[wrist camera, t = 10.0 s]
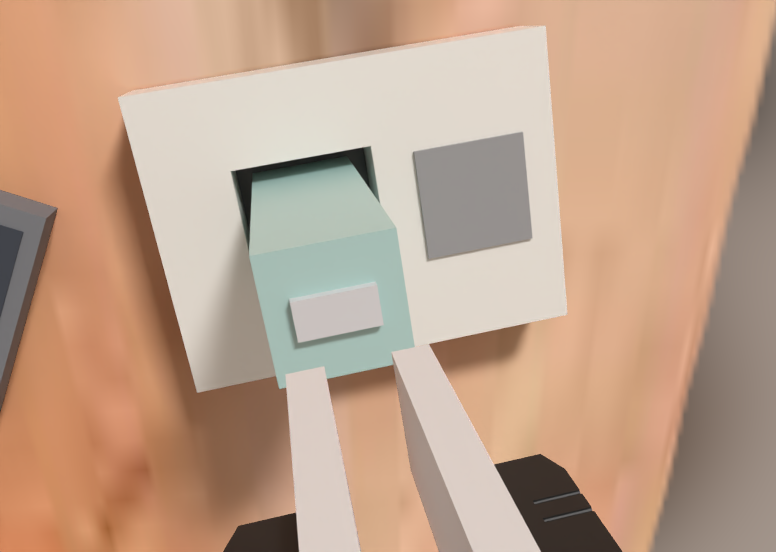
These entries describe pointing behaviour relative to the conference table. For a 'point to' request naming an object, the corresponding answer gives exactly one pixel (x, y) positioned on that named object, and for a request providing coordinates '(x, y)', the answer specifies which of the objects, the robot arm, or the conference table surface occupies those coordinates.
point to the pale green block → (326, 270)
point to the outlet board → (379, 171)
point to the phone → (19, 270)
